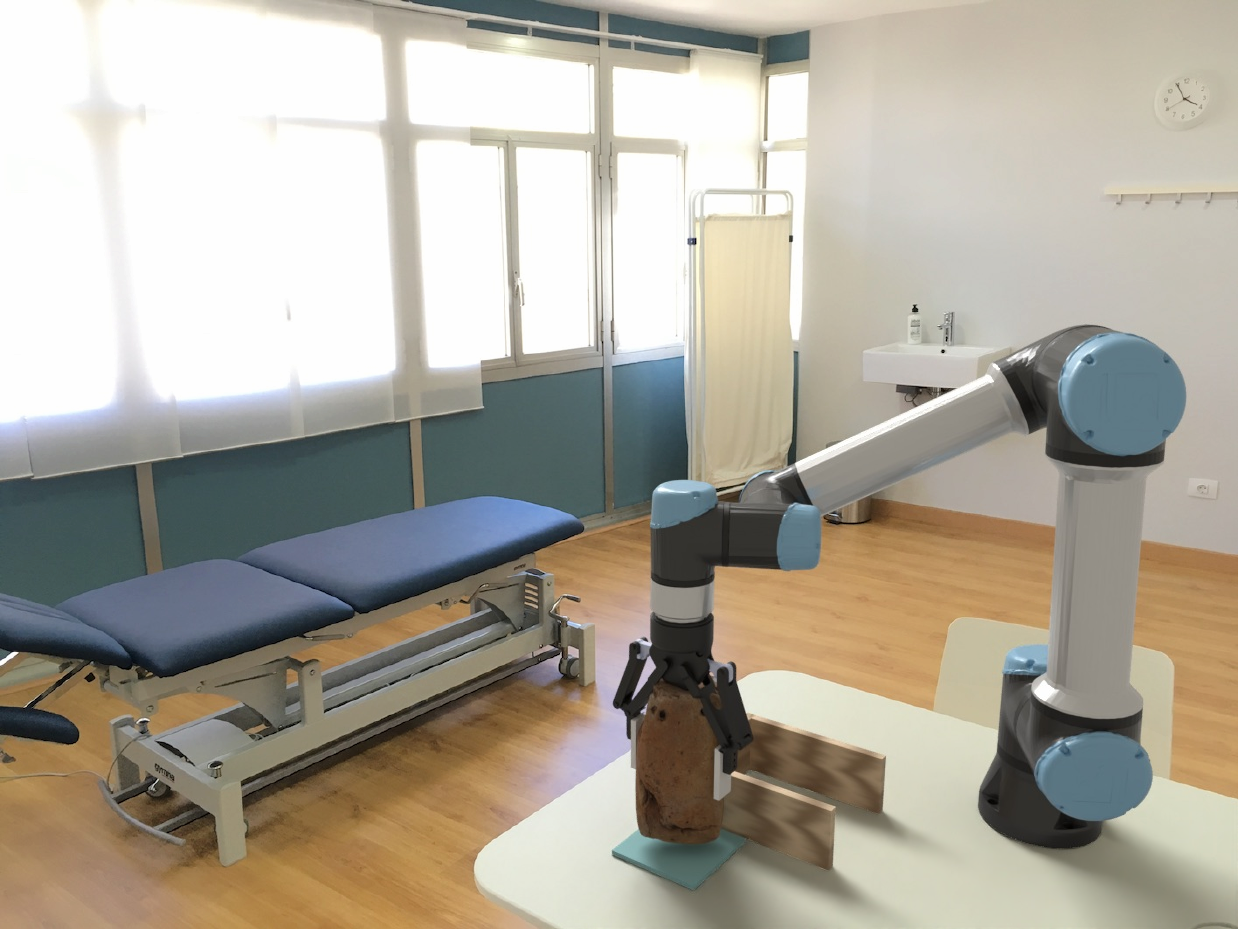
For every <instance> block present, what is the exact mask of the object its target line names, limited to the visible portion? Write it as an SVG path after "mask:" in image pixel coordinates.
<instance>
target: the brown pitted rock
mask: <svg viewBox="0 0 1238 929" xmlns="http://www.w3.org/2000/svg"><path fill="white" fill-rule="evenodd" d="M710 676H711V678H712V679H713V678H714V675H711V674H710ZM713 681H714V680H713ZM714 683H715V691H716V693H717V694H714V693H711V694H710V700H711V703H712V704H713V706H714V707H715V708H716V709H718V710H721V709H722V703H721V700H720V696H719V693H718V689H717V682H715V681H714ZM698 686H699V688H702V687H703V683H701V684H700V685H698ZM702 708H703V705H702V703H701V700H700V699H699V698H693V697H692V696H691V694H690V692H689V690H688V691H686V690H683V689H681V688H679V687H678V686H673V685H670V684H667V683H666V682H665V681H664V680H663V679H662V678H661V679H660V681H659V682H658V683H656V684H655V685H654V687H653V693H652V694H650V697H649V701H648V703H647V705H646V708H645V709H646V711H645V713H646V714H645V717H644V721H643V722H642V725H641V727H640V729H639V732H638V737H637V750H636V769H635V784H634V785H635V786H634V787H635V790H634V791H635V816H636V823H637V828H638V829H639V831H640V833H641V835H642V836H644V837H648V838H651V839H658V840H661V841H664V842H670V843H682V844H703V843H709V842H712V841H714V840H716V839H717V838H718V837H719V834H720V830H721V826H722V820H723V812H724V797H723V798H722V799H721V800H719V801H718V800H716V799H714V758H715V748H716V747H718V746H719V745H720V744H719V742H718V740H717V738H716V736H715V734H714V732H713V730H712V728H711V726H710V725H709V723H708V721H707V719H706V717H705V715H704V713H703V711H702Z"/></svg>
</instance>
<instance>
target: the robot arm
mask: <svg viewBox="0 0 1238 929" xmlns="http://www.w3.org/2000/svg"><path fill="white" fill-rule="evenodd" d="M1186 404H1187V387H1186V382H1185V378H1184V376H1183V373H1182V371H1181V369H1180V367H1179V365H1178V364H1177V363H1176V362H1175V360H1174V359H1173V358H1172V356H1170V355H1169V353H1168V352H1166V351H1165V350H1164V349H1162V348H1161V347H1159V345H1157V344H1156V343H1154V342H1152V341H1150V340H1149V339H1148V338H1145V337H1143V336H1140V335H1137V334H1135V333H1131V332H1123V331H1120V330H1119V331H1118V330H1114V329H1112V328H1109V327H1106V326H1103V325H1098V324H1086V323H1085V324H1079V325H1073V326H1068V327H1066V328H1062V329H1060V330H1057V331H1055V332H1052V333H1051V334H1049V335H1047V336H1044V337H1043V338H1040V339H1038V340H1036V341H1033V342H1032V343H1030V344H1028V345H1026V346H1023V347H1022V348H1019V350H1016V351H1015V352H1012V353H1010V354H1009V355H1006V356H1004V357H1001V358H1000V359H997V360H995V361H993V362H991V363H990V364H989V365H988V368H987V369H986V373H985V374H984V375H982V376H980V377H979V378H976V379H974V380H972V381H970V382H968V383H966V384H963V385H961V386H959V387H957V388H954V389H953V390H950V391H948V392H946V393H944V394H942V395H939V396H938V397H935V398H933V399H931V400H929V401H926V402H925V403H923V404H920V405H918V406H916V407H913V408H912V409H910V410H906V411H905V412H902V413H900V414H898V415H896V416H894V417H892V418H890V419H889V418H888V419H887V420H885V421H883V422H881V423H879V424H876V425H874V426H872V427H870V428H868V429H866V430H864V431H862V432H859V433H856V434H855V435H853V436H851V437H848V438H847V439H844V440H842V441H839V442H837V443H835V444H833V445H831V446H829V447H826V448H825V449H823V450H820V451H818V452H816V453H814V454H812V455H809V456H807V457H805V458H803V459H801V460H798V461H796V462H795V463H792V464H790V465H787V466H785V467H783V468H780V469H778V470H772V469H769V470H763V471H760V472H757V473H755V474H754V475H752V477H750V478H749V479H748V480H747V481H746V483H745V484H744V486H743V488H742V490H741V493H740V495H739V499H738V502H730V501H723V500H722V501H721V500H719V497H718V496H717V494H718V493H717V489H716V487H715V485H714V486H713V484H711V483H708V482H705V481H697V480H694V479H678V480H677V479H676V480H675V479H674V480H669V481H666V482H662V483H661V484H659V485H658V486H657V487H656V488H655V489H654V490H653V491H652V497H651V512H650V523H649V527H650V581H649V582H650V584H649V585H650V586H649V587H650V590H649V591H650V593H649V598H650V599H649V608H650V609H651V613H650V616H649V623H650V624H649V632H650V633H649V639H650V642H649V639H648V638H647V637H645V636H641V637H640V638H637V639H635V640H634V641H632V642H630V643H629V645H628V661H627V663H626V665H625V668H624V671H623V674H622V676H621V679H620V682H619V685H618V687H617V689H616V692H615V695H614V698H613V701H612V706H613V708H614V709H616V710H619V709H620V710H621V711H622V712H624V716H625V717H626V720H625V721H626V728H625V729H626V738H627V740H630V768H631V769H634V770H636V750H637V737H638V732H639V729H640V727H641V725H642V722H643V721H644V717H645V714H646V711H643V710H645V709H646V708H647V704H648V701H649V697H650V694H652V693H653V687H654V685H655V684H656V683H658V682H659V681H660V679H661V678H662V679H663V680H664V681H665V682H666V683H667V684H670V685H673V686H678V687H679V688H681V689H683V690H686V691H688V690H689V692H690V694H691V696H692V697H693V698H699V699H700V700H701V703H702V705H703V708H702V711H703V713H704V715H705V717H706V719H707V721H708V723H709V725H710V726H711V728H712V730H713V732H714V734H715V736H716V738H717V740H718V742H719V744H720V745H719V746H718V747H716V748H715V758H714V799H716V800H718V801H719V800H721V799H722V798H723V797H724V796H725V795H727V794H728V793H729V792H730V791H731V773H733V772H734V771H735V770H736V768H737V758H738V750H742V749H744V748H745V747H746V746H747V745H749V744H750V743H751V742H752V741H753V739H754V738H753V734H752V731H751V728H750V724H749V721H748V718H747V712H746V708H745V705H744V702H743V698H742V696H741V692H740V688H739V685H738V682H737V681H738V680H737V664H736V663H735V662H734V661H728V662H727V663H722V662H719V661H715V658H714V656H713V653H712V647H713V645H714V644H713V643H714V634H715V633H714V631H715V627H714V626H715V620H714V619H715V616H714V613H712V612H713V611H714V609H715V608H714V607H715V576H716V572H715V568H716V567H723V568H724V567H725V568H744V569H757V570H758V569H759V570H761V569H762V570H776V571H777V570H779V571H780V570H781V571H785V572H790V571H806V570H808V571H809V570H814V569H816V568H817V567H818V565H819V563H820V561H821V552H822V551H821V549H822V517H824V516H826V515H828V514H831V513H833V512H834V511H837V510H839V509H842V508H844V507H846V506H848V505H851V504H853V503H855V502H858V501H860V500H863V499H865V498H866V497H868V496H871V495H873V494H876V493H878V492H881V491H883V490H885V489H888V488H890V487H891V486H894V485H896V484H898V483H900V482H903V481H905V480H907V479H910V478H912V477H915V476H917V475H919V474H921V473H923V472H926V471H928V470H930V469H932V468H935V467H937V466H939V465H943V464H944V463H946V462H948V461H951V460H953V459H955V458H957V457H960V456H962V455H964V454H967V453H969V452H971V451H973V450H975V449H977V448H980V447H983V446H985V445H988V444H990V443H992V442H993V441H997V440H998V439H1001V438H1003V437H1006V436H1007V435H1008V436H1009V435H1010V434H1014V433H1015V434H1019V435H1021V436H1025V437H1026V436H1029V435H1030V434H1033V433H1035V432H1037V431H1041V430H1042V429H1046V430H1045V432H1046V434H1045V448H1044V449H1045V453H1044V456H1045V458H1046V459H1047V461H1049V462H1050V464H1052V466H1054V468H1055V469H1056V470H1057V471H1058V482H1057V483H1058V484H1057V495H1056V496H1057V498H1056V500H1057V502H1056V515H1055V516H1056V517H1055V530H1054V532H1055V533H1054V548H1053V561H1052V562H1053V563H1052V576H1051V578H1052V580H1051V594H1050V595H1051V596H1050V610H1049V612H1050V613H1049V627H1048V644H1025V645H1019V646H1016V647H1013V648H1011V649H1010V650H1009V651H1008V652H1007V653H1006V655H1005V658H1004V666H1003V669H1002V670H1001V673H1002V682H1001V683H1002V685H1001V694H1000V695H1001V696H1000V708H999V719H998V730H997V731H998V732H997V743H996V744H997V746H996V753H995V754H994V757H993V759H992V761H991V763H990V766H989V767H988V770H987V772H986V773H985V776H984V777H983V780H982V782H981V784H980V786H979V791H978V797H977V798H978V799H977V800H978V801H977V808H978V809H977V810H978V812H979V814H980V815H981V818H982V819H983V820H984V821H985V822H986V824H988V825H989V826H990V827H992V828H993V829H994V830H996V831H997V832H1000V833H1001V834H1003V835H1004V836H1006V837H1008V838H1010V839H1013V840H1015V841H1017V842H1021V843H1023V844H1026V845H1029V846H1030V845H1031V846H1036V847H1041V848H1046V849H1056V850H1068V849H1069V850H1070V849H1076V848H1077V849H1078V848H1082V847H1086V846H1088V845H1091V844H1093V843H1094V842H1095V841H1097V840H1098V838H1100V836H1101V834H1102V830H1103V822H1104V821H1109V820H1113V819H1118V818H1119V817H1120V818H1121V817H1122V816H1124V815H1126V814H1127V812H1130V810H1132V809H1135V808H1137V807H1139V805H1140V804H1141V803H1142V802H1143V801H1144V800H1145V799H1146V797H1147V795H1149V793H1150V791H1151V790H1150V789H1151V788H1152V783H1153V777H1154V774H1153V767H1152V763H1151V759H1150V758H1149V753H1148V752H1147V751H1146V749H1145V748H1144V747H1143V746H1142V745H1141V744H1142V743H1141V741H1142V739H1141V738H1142V726H1143V711H1144V698H1143V696H1142V694H1141V693H1140V692H1139V691H1138V690H1137V688H1135V687H1134V686H1133V685H1132V684H1131V671H1132V659H1133V658H1132V657H1133V645H1134V633H1135V632H1134V631H1135V622H1136V621H1135V620H1136V607H1137V597H1138V596H1137V595H1138V585H1139V584H1138V583H1139V571H1140V561H1141V548H1142V537H1143V522H1144V512H1145V511H1144V510H1145V499H1146V485H1147V479H1148V476H1149V475H1151V474H1152V473H1153V472H1154V471H1156V470H1157V469H1158V468H1160V467H1161V466H1162V465H1164V462H1165V453H1166V444H1167V442H1166V441H1167V438H1168V437H1170V436H1171V434H1173V433H1175V431H1176V430H1177V428H1178V427H1179V424H1180V423H1181V420H1182V419H1183V416H1184V413H1185V409H1186V406H1187V405H1186ZM649 657H650V659H651V661H652V662H653V664H654V666H655V668H654V669H653V671H652V672H651V673H650V675H649V676H648V678H647V680H646V682H645V683H644V684H643V686H642V687H641V688H640V689H639V691H638V692H637V693H636V694H635V692H636V689H637V687H638V685H639V681H640V679H641V677H642V675H643V672H644V668H645V667H646V663H647V660H648V658H649ZM710 673H712V674H713V675H711V674H710ZM710 675H711V676H714V678H713V679H712V678H711V676H710ZM713 680H714V681H715V682H717V689H718V693H719V696H720V700H721V703H722V709H721V710H718V709H716V708H715V707H714V706H713V704H712V703H711V700H710V694H711V693H714V694H717V693H716V691H715V683H714V681H713ZM701 683H703V687H702V688H699V686H698V685H700V684H701ZM642 711H643V712H642Z"/></svg>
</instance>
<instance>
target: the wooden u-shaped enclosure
mask: <svg viewBox="0 0 1238 929" xmlns="http://www.w3.org/2000/svg"><path fill="white" fill-rule="evenodd" d="M746 714H747V718H748V721H749V724H750V728H751V731H752V734H753V738H754V739H753V741H752V742H751V743H750V744H749V745H747V746H746V747H745V748H744V749H742V750H738V758H737V768H736V770H735V771H734V772H733V773H731V791H730V792H729V793H728V794H727V795H725V796H724V812H723V820H722V826H721V829H723V830H726V831H728V832H731V833H733V834H736V835H738V836H741V837H743V838H745V840H748V841H751V842H754V843H756V844H759V845H761V846H764V847H766V848H769V849H771V850H773V851H776V852H780V853H781V854H784V855H787V856H789V857H791V858H794V859H797V860H798V861H799V860H800V861H803V862H805V863H807V864H810V865H812V866H814V867H817V868H820V869H823V870H824V871H826V872H827V871H828V872H829V871H830V870H831V869H832V868H833V867H834V853H835V852H834V850H835V830H836V829H835V828H836V811H837V808H836V806H835V805H832V804H829V803H827V802H823V801H821V800H817V799H815V798H812V797H809V796H807V795H806V796H805V795H803V794H800V793H798V792H795V791H791V790H790V789H786V788H783V787H781V786H777V785H774V784H772V783H770V782H766V781H764V780H761V779H757V778H755V777H752V776H750V775H747V774H746V773H747V772H749V771H753V772H755V773H757V774H761V775H764V776H767V777H769V778H773V779H776V780H778V781H781V782H784V783H787V784H790V785H792V786H796V787H798V788H801V789H803V790H808V791H810V792H813V793H816V794H818V795H821V796H824V797H827V798H830V799H833V800H835V801H840V802H842V803H844V804H848V805H850V806H853V807H856V808H859V809H862V810H865V811H867V812H870V813H873V814H877V815H881V813H882V812H883V811H884V793H885V781H886V780H885V779H886V762H887V755H886V754H882V753H878V752H876V751H872V750H870V749H866V748H863V747H859V746H857V745H853V744H850V743H848V742H843V741H840V740H836V739H834V738H831V737H827V736H825V735H824V736H823V735H821V734H817V733H814V732H812V731H808V730H806V729H802V728H799V727H795V726H792V725H789V724H785V723H783V722H779V721H776V720H772V719H770V718H765V717H763V716H759V715H756V714H753V713H750V712H746Z"/></svg>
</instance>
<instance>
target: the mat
mask: <svg viewBox="0 0 1238 929" xmlns="http://www.w3.org/2000/svg"><path fill="white" fill-rule="evenodd" d="M745 844H746V838H743V837H741V836H738V835H736V834H733V833H731V832H728V831H726V830H723V829H721V830H720V834H719V837H718V838H717V839H716V840H714V841H712V842H709V843H703V844H682V843H670V842H664V841H661V840H658V839H651V838H648V837H644V836H642V835H641V833H640V831H639V828H638V829H637V830H635V831H634V832H633V833H632V834H630V835H629V836H628V837H627V838H625V839H624V840H623V841H622V842H620V843H619V844H617V846H615V847H613V849H612V850H611V855H613V856H615V857H617V858H619V859H621V860H624V861H626V862H628V863H631V864H632V865H635V866H637V867H640V868H642V869H644V870H647V871H649V872H651V873H653V874H655V875H657V876H660V877H662V878H664V879H667V880H669V881H672V882H674V883H676V884H678V885H680V886H683V887H685V888H687V889H689V890H692V891H695V890H696V889H697V888H699V886H700V885H702V884H703V883H704V882H705V881H706V880H707V879H708V878H710V876H712V875H713V873H714V872H716V870H718V869H719V868H720V867H721V866H722V865H723V864H724V863H725V862H726V861H727V860H728V859H730V857H731V856H732V855H734V853H736V852H737V851H738V850H739V849H740V848H742V846H744V845H745Z"/></svg>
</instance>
